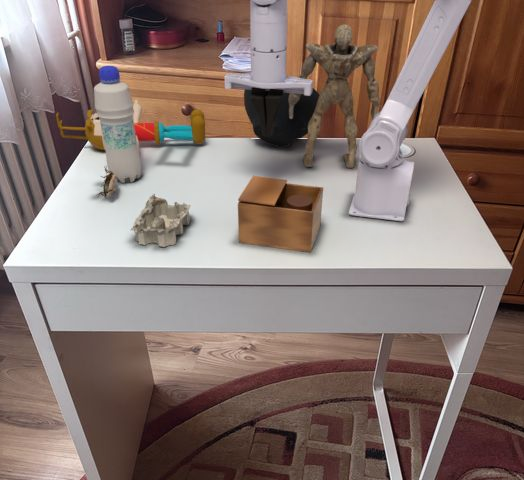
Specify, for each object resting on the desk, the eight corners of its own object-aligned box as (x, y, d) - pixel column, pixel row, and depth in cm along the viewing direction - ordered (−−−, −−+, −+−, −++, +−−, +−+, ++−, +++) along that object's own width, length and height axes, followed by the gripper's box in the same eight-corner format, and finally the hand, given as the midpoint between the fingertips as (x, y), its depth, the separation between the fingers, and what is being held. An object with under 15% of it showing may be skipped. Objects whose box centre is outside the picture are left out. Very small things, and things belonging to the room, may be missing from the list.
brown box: (238, 242, 89) (237, 203, 84) (253, 217, 95) (252, 179, 90) (310, 252, 86) (313, 212, 82) (320, 225, 93) (323, 187, 88)
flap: (238, 200, 84) (238, 199, 84) (253, 177, 90) (253, 175, 90) (274, 205, 83) (274, 203, 83) (287, 181, 89) (287, 179, 89)
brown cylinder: (312, 229, 91) (314, 196, 87) (307, 242, 88) (309, 207, 84) (288, 226, 92) (289, 193, 88) (283, 238, 89) (284, 204, 85)
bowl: (278, 107, 103) (293, 59, 103) (217, 117, 114) (231, 74, 115) (327, 154, 115) (341, 111, 116) (268, 159, 127) (280, 119, 127)
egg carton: (156, 213, 96) (153, 191, 93) (196, 219, 94) (194, 197, 92) (128, 243, 88) (124, 220, 86) (171, 250, 87) (168, 227, 84)
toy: (209, 140, 107) (48, 138, 102) (208, 179, 113) (57, 179, 109) (201, 84, 123) (61, 81, 118) (201, 121, 129) (68, 119, 125)
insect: (100, 170, 95) (118, 176, 95) (106, 159, 102) (122, 164, 103) (93, 202, 97) (110, 208, 98) (99, 189, 105) (115, 194, 106)
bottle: (147, 171, 109) (132, 61, 96) (138, 186, 104) (120, 72, 91) (114, 170, 109) (94, 60, 96) (104, 184, 104) (81, 70, 91)
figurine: (367, 153, 116) (389, 17, 99) (373, 169, 110) (398, 29, 93) (284, 151, 115) (292, 15, 98) (286, 168, 109) (295, 26, 92)
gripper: (318, 45, 88) (313, 130, 97) (232, 39, 91) (234, 123, 100) (310, 56, 83) (305, 145, 92) (219, 50, 86) (223, 137, 95)
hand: (267, 134), depth 96 cm, fingers closed
